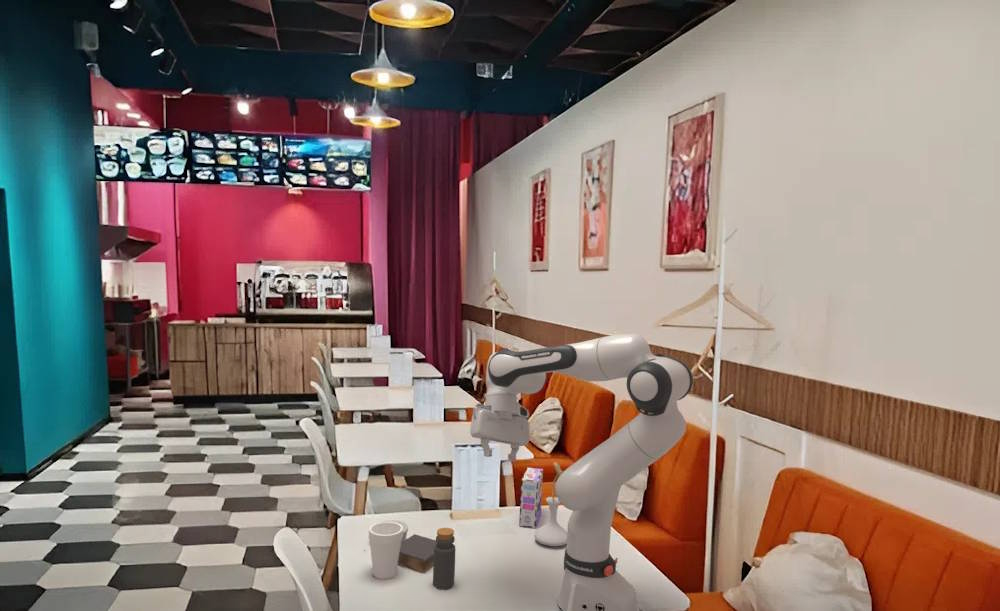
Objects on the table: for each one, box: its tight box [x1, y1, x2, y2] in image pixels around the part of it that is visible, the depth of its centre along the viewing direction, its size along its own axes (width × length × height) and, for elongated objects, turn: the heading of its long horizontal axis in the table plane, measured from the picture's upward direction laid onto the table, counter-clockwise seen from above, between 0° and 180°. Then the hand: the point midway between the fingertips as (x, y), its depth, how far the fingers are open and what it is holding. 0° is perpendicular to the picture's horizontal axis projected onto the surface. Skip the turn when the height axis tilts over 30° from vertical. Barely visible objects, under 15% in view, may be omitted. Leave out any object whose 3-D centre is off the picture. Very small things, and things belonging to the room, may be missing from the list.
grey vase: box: [533, 462, 567, 547], centre depth 204 cm, size 13×11×25 cm
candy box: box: [518, 467, 544, 529], centre depth 220 cm, size 14×6×16 cm, turn 168°
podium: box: [397, 534, 437, 574], centre depth 188 cm, size 12×12×4 cm
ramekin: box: [377, 519, 409, 542], centre depth 198 cm, size 11×11×5 cm
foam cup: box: [368, 521, 403, 580], centre depth 179 cm, size 10×9×13 cm
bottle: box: [432, 527, 456, 590], centre depth 174 cm, size 6×6×15 cm
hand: (500, 458), depth 174 cm, fingers open, 8 cm apart
